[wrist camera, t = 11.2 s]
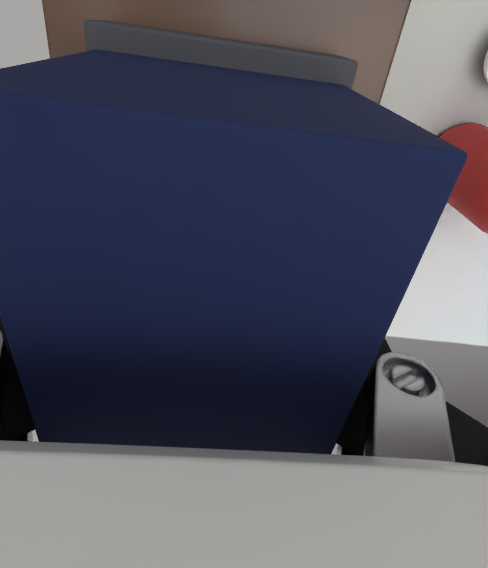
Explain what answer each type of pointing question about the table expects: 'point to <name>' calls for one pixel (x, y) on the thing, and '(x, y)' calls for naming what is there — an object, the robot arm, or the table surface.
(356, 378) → the blue stepped block
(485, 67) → the screw
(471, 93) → the table surface
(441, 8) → the table surface
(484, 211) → the beer can
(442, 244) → the table surface
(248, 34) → the shoe stand
